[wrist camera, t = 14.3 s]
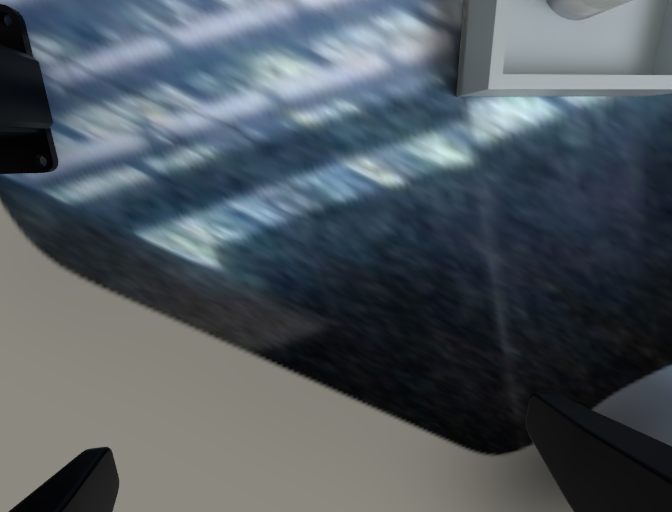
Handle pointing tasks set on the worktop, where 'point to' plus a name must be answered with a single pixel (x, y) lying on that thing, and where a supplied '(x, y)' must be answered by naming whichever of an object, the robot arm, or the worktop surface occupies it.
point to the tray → (564, 50)
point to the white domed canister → (582, 7)
